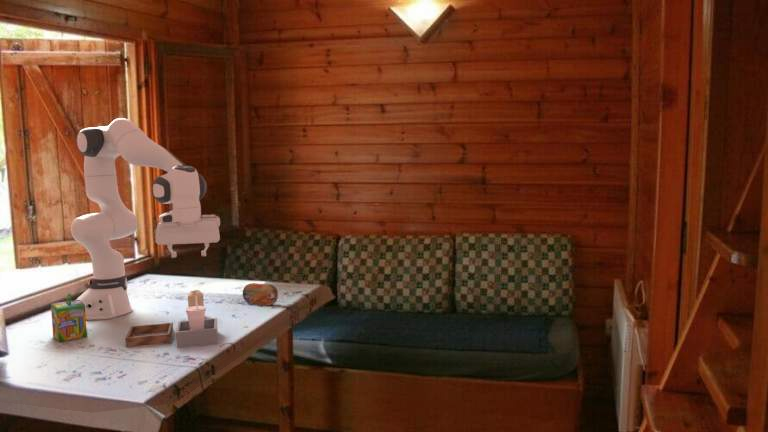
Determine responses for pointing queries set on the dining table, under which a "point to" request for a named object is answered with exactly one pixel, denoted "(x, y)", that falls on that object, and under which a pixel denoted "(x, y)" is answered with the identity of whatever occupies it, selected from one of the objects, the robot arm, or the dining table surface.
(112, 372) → the dining table surface
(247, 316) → the dining table surface
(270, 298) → the tin
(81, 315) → the chalk box
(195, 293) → the candle
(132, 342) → the frame
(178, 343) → the bin
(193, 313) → the smoothie
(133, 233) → the robot arm
